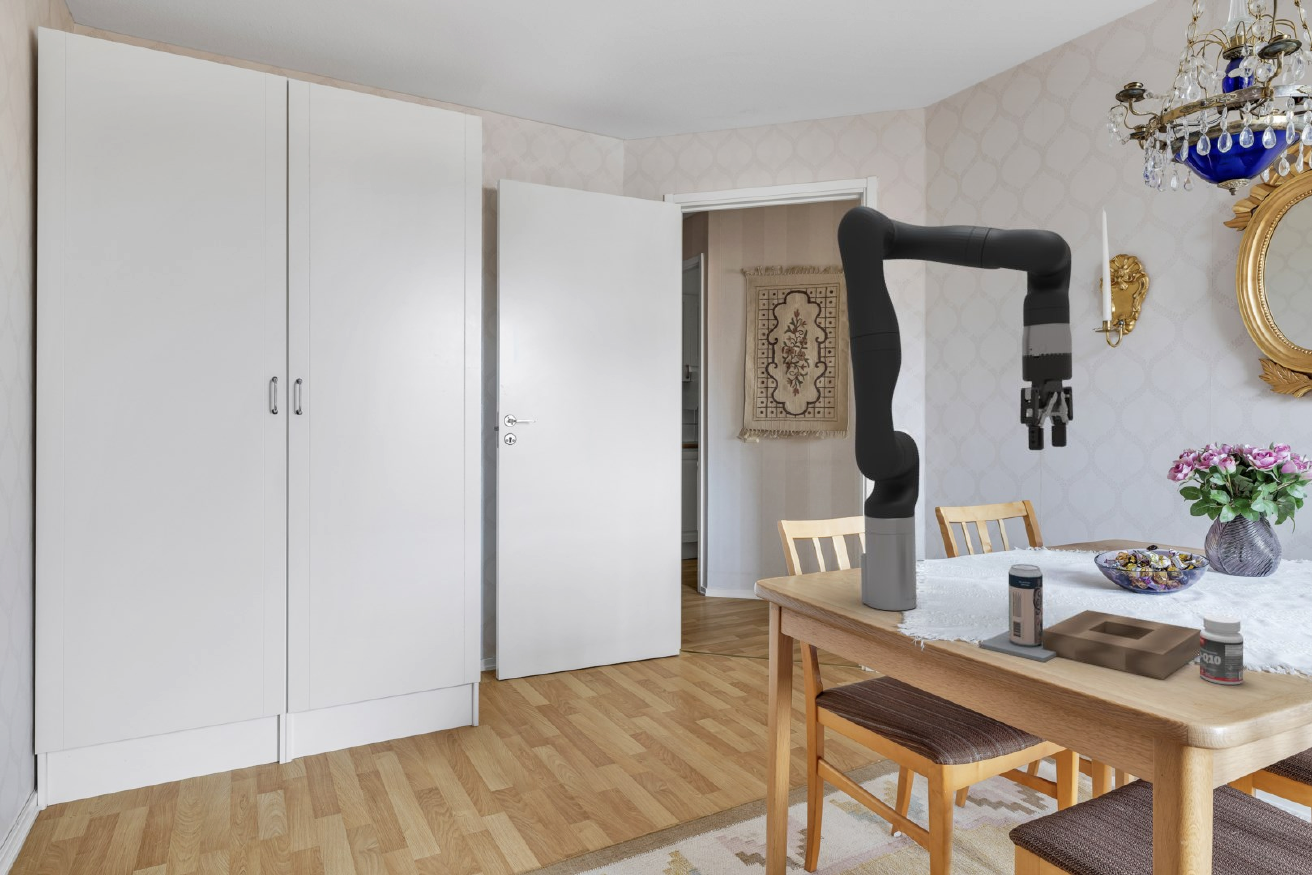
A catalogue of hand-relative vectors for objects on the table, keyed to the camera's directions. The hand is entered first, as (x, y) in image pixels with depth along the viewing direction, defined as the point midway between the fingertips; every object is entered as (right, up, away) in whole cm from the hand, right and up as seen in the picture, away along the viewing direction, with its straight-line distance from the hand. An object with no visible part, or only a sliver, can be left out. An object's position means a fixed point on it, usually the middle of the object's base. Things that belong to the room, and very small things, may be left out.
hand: (1047, 448), depth 131 cm
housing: (+4, -31, -15) cm, 34 cm away
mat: (-9, -31, -10) cm, 34 cm away
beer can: (-9, -31, -10) cm, 33 cm away
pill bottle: (+10, -31, -26) cm, 42 cm away
